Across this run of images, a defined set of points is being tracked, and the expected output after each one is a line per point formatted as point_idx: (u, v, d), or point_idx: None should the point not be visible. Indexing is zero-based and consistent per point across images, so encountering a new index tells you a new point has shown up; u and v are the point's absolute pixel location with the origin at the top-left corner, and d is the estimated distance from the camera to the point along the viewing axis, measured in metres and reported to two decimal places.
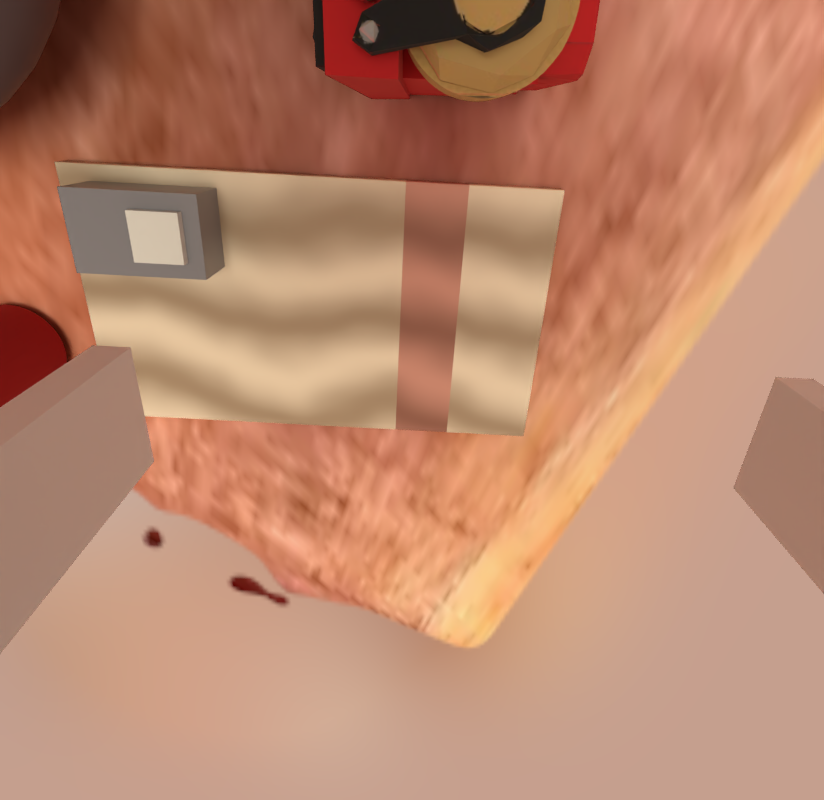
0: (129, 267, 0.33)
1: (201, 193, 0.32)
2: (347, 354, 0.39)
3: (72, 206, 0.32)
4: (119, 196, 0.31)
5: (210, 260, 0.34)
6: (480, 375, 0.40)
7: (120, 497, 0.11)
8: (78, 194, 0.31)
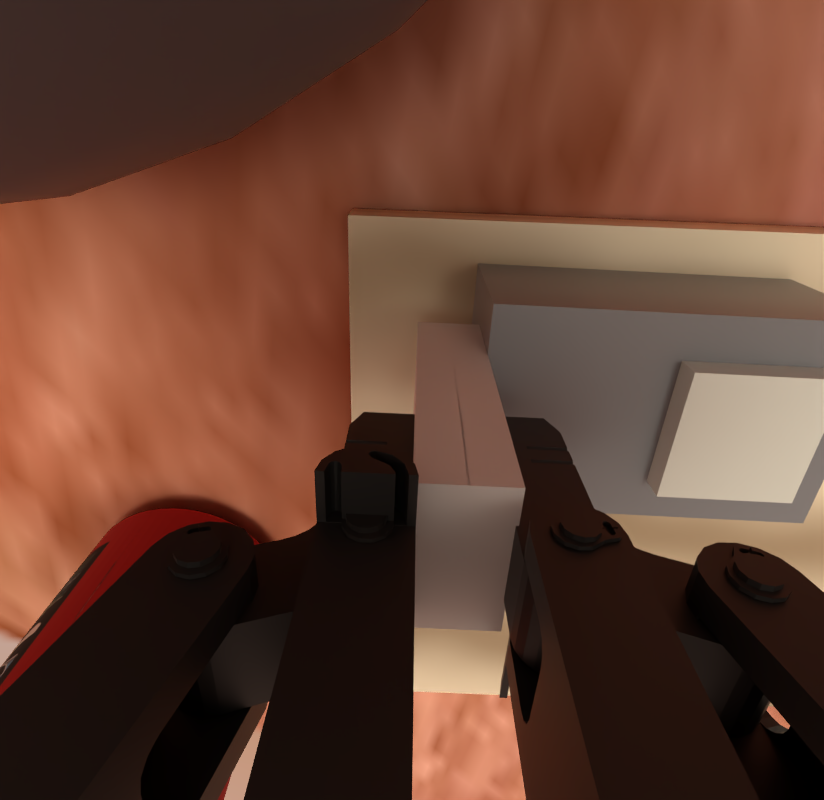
0: (613, 496, 0.13)
1: None
2: None
3: (518, 354, 0.11)
4: (667, 330, 0.11)
5: None
6: None
7: None
8: (548, 324, 0.11)
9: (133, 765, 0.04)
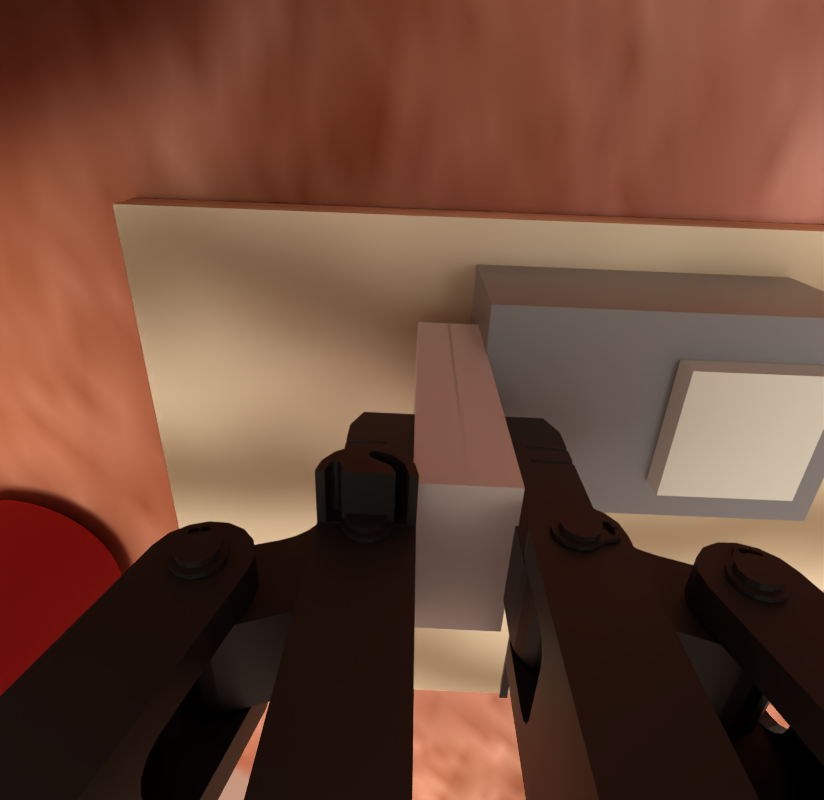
0: (613, 495, 0.13)
1: None
2: None
3: (517, 354, 0.11)
4: (665, 329, 0.11)
5: None
6: None
7: None
8: (546, 324, 0.11)
9: (134, 765, 0.04)
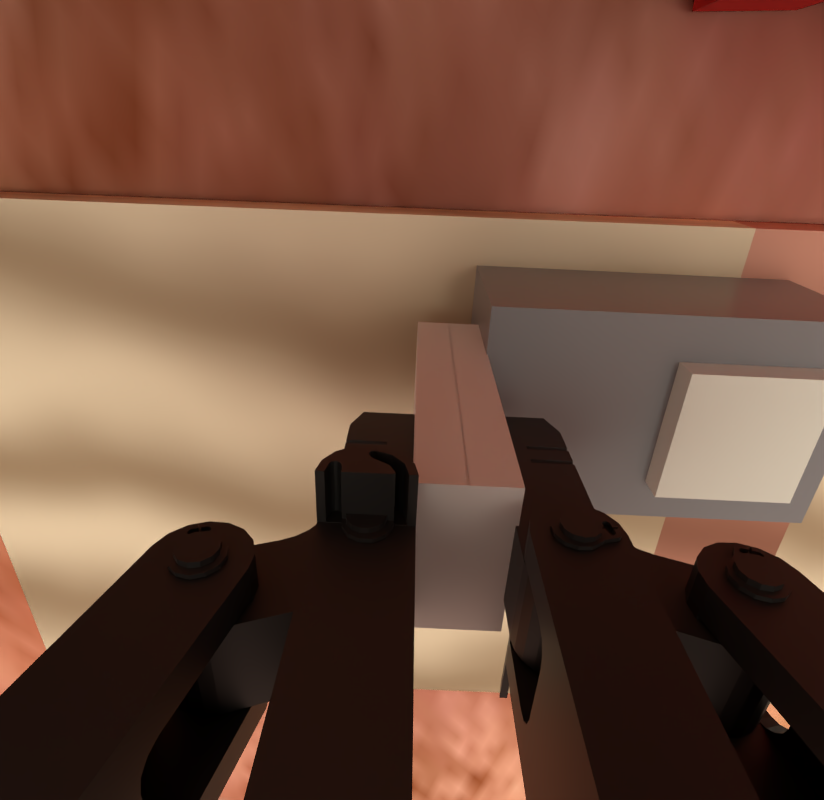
0: (611, 497, 0.13)
1: None
2: None
3: (516, 356, 0.11)
4: (665, 332, 0.11)
5: None
6: None
7: None
8: (546, 326, 0.11)
9: (134, 766, 0.04)
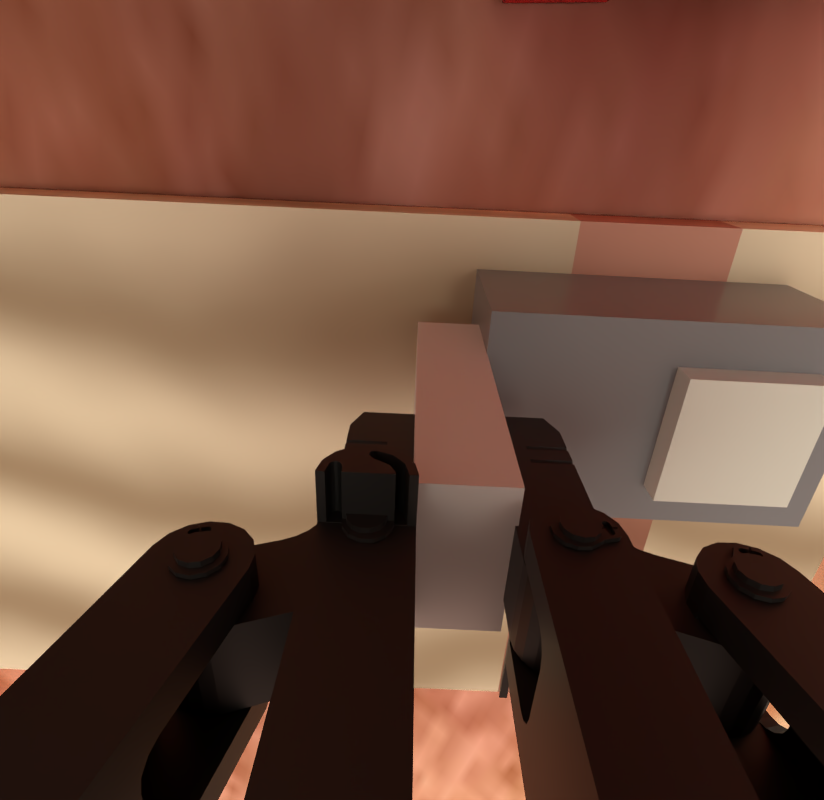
0: (610, 500, 0.13)
1: None
2: None
3: (516, 361, 0.11)
4: (663, 336, 0.11)
5: None
6: None
7: None
8: (546, 331, 0.11)
9: (134, 766, 0.04)
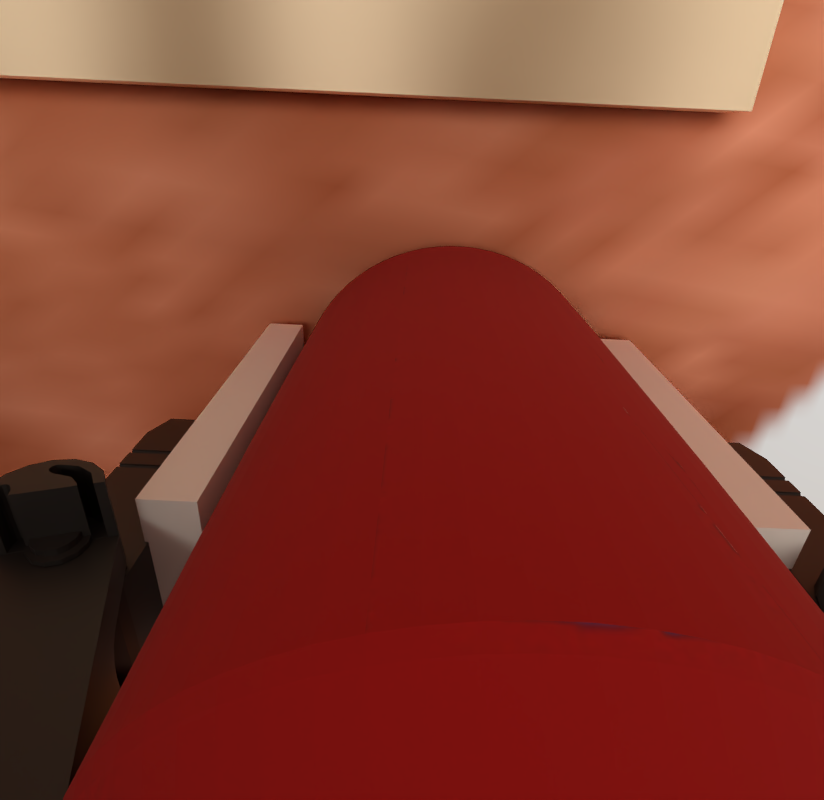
0: None
1: None
2: None
3: None
4: None
5: None
6: None
7: None
8: None
9: None
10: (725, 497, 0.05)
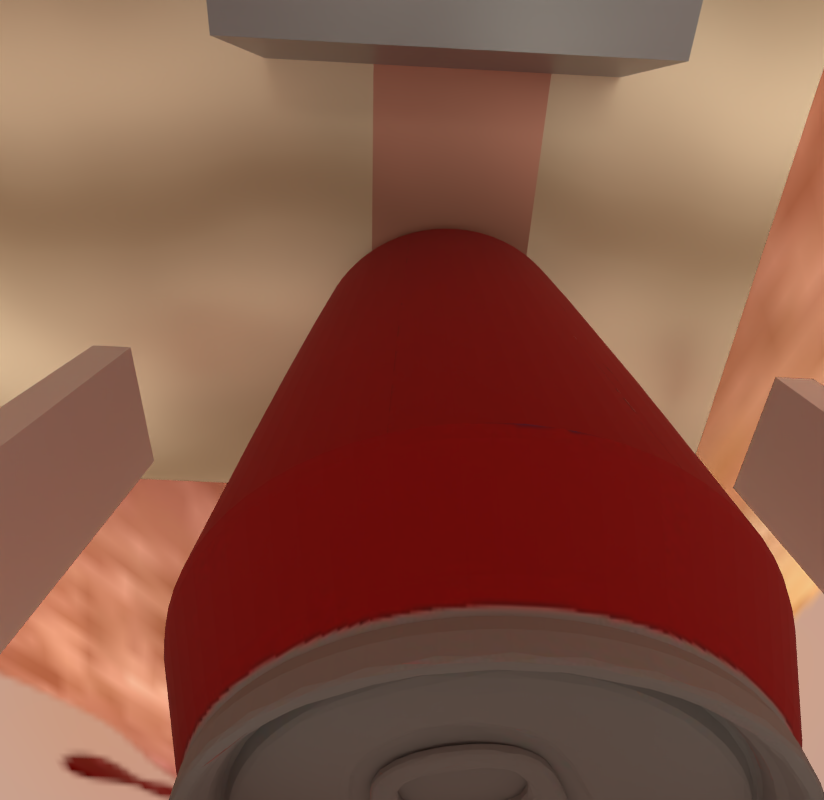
0: (410, 9, 0.09)
1: None
2: (235, 300, 0.15)
3: None
4: None
5: None
6: None
7: (120, 497, 0.11)
8: None
9: None
10: (644, 394, 0.07)
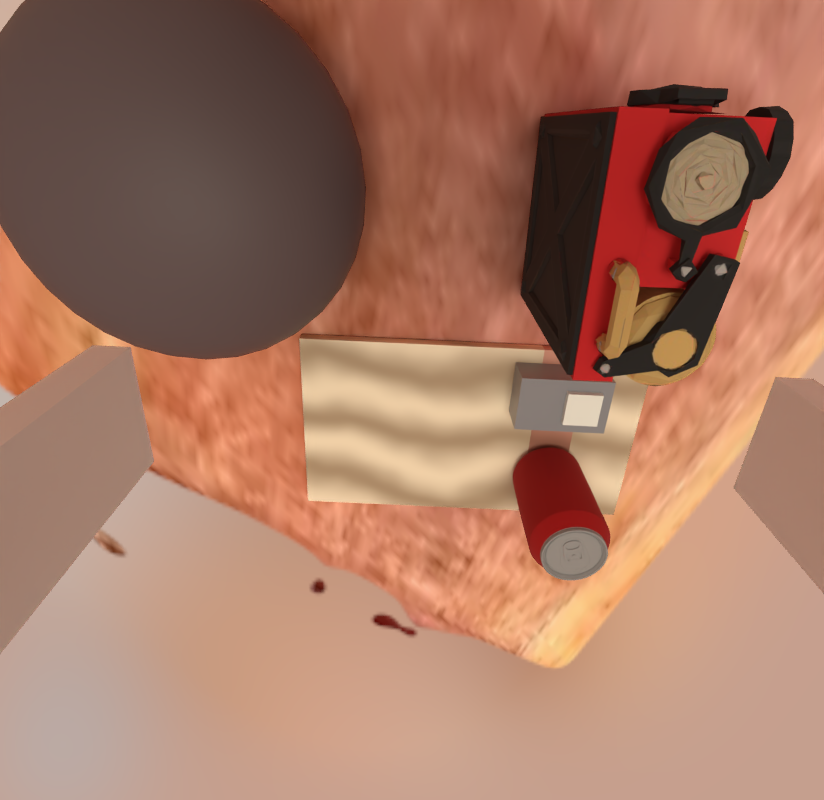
0: (552, 426, 0.48)
1: None
2: (489, 460, 0.54)
3: (527, 389, 0.47)
4: (562, 384, 0.46)
5: None
6: (585, 473, 0.54)
7: (120, 497, 0.11)
8: (535, 382, 0.46)
9: None
10: (592, 501, 0.46)
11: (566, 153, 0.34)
